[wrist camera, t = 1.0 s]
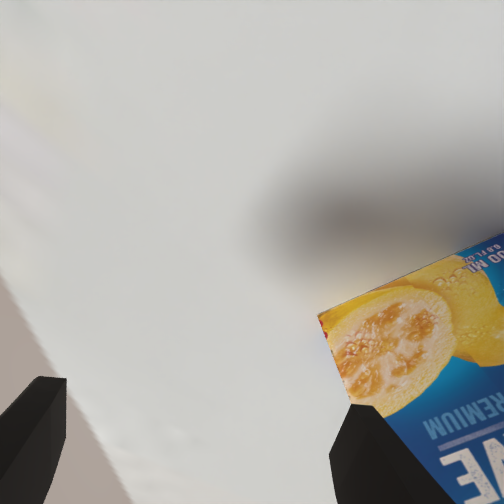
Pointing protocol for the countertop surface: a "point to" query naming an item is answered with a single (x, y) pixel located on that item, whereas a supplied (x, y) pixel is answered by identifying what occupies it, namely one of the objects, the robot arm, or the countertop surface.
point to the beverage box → (434, 365)
